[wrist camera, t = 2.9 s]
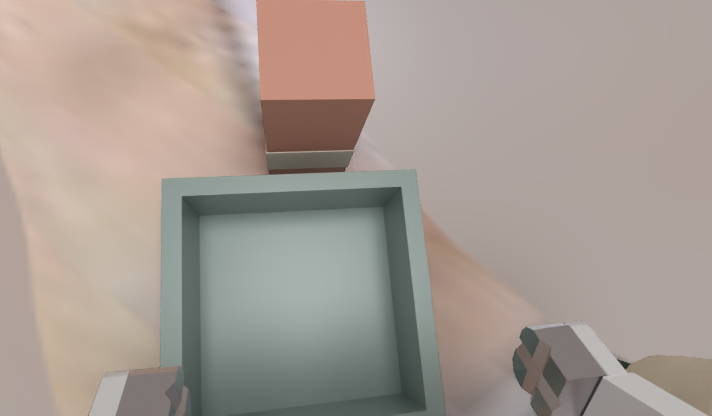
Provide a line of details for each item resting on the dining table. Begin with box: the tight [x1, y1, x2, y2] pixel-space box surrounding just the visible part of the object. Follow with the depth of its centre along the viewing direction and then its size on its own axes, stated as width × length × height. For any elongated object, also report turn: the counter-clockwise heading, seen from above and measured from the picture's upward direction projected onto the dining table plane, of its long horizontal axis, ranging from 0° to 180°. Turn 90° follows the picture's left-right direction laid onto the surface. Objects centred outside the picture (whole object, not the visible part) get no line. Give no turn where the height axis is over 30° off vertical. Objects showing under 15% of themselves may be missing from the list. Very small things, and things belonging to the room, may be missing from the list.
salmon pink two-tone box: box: [256, 0, 375, 175], centre depth 26 cm, size 5×5×12 cm
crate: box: [160, 169, 446, 416], centre depth 26 cm, size 14×14×6 cm
